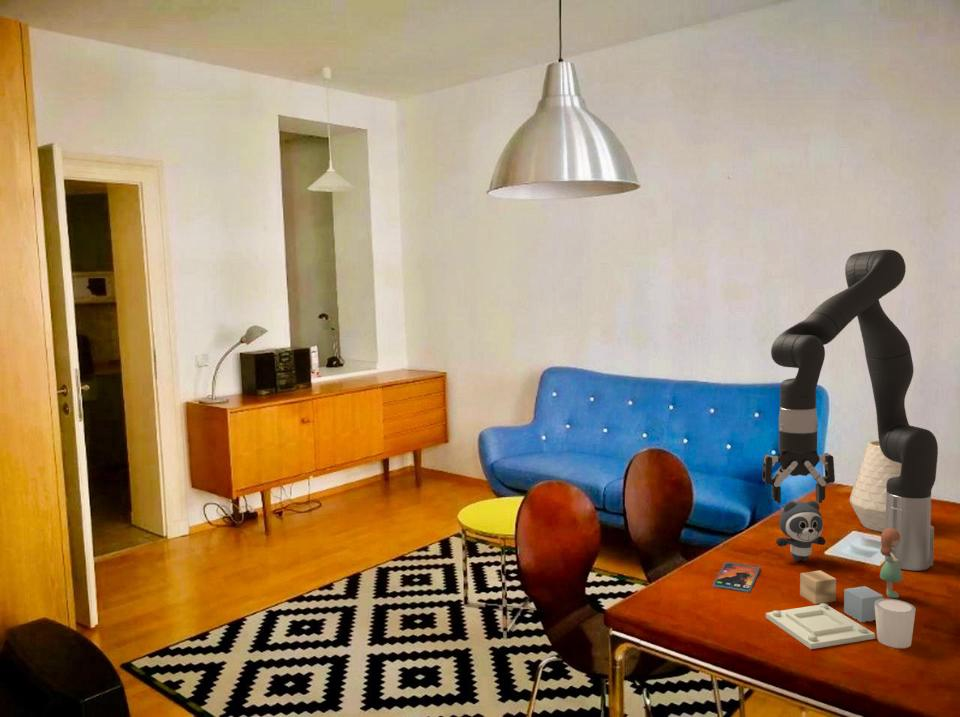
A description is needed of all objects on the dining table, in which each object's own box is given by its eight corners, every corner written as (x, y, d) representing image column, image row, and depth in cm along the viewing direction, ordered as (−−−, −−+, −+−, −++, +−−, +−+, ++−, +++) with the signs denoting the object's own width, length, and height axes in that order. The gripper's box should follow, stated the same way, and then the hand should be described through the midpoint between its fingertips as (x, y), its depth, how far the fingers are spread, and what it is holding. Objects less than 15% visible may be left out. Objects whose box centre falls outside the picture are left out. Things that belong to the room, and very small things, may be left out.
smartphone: (711, 585, 170) (725, 561, 183) (712, 591, 170) (725, 566, 183) (749, 589, 166) (760, 565, 179) (750, 595, 166) (761, 570, 179)
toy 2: (909, 610, 155) (911, 539, 154) (886, 608, 156) (887, 538, 155) (894, 585, 168) (896, 519, 166) (873, 583, 169) (874, 518, 168)
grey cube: (864, 609, 157) (865, 586, 156) (882, 619, 152) (883, 595, 151) (844, 612, 155) (844, 589, 155) (861, 622, 151) (861, 598, 150)
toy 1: (786, 570, 178) (787, 508, 176) (769, 554, 188) (769, 496, 187) (835, 568, 178) (836, 506, 177) (815, 553, 188) (816, 494, 187)
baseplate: (825, 608, 157) (825, 600, 157) (874, 638, 144) (875, 629, 144) (765, 617, 154) (765, 609, 154) (810, 649, 141) (810, 639, 140)
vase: (855, 513, 218) (856, 434, 216) (925, 522, 208) (927, 440, 206) (843, 530, 204) (844, 446, 202) (917, 541, 194) (919, 453, 192)
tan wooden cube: (820, 592, 166) (820, 570, 165) (835, 601, 161) (836, 578, 160) (800, 595, 164) (800, 573, 164) (815, 604, 160) (815, 581, 159)
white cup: (865, 634, 146) (866, 599, 145) (899, 631, 146) (900, 596, 146) (888, 651, 139) (888, 614, 138) (923, 648, 139) (924, 612, 139)
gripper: (826, 423, 163) (826, 496, 165) (758, 425, 165) (759, 497, 167) (839, 430, 156) (839, 507, 158) (768, 432, 158) (768, 508, 159)
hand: (798, 502), depth 162 cm, fingers open, 8 cm apart
